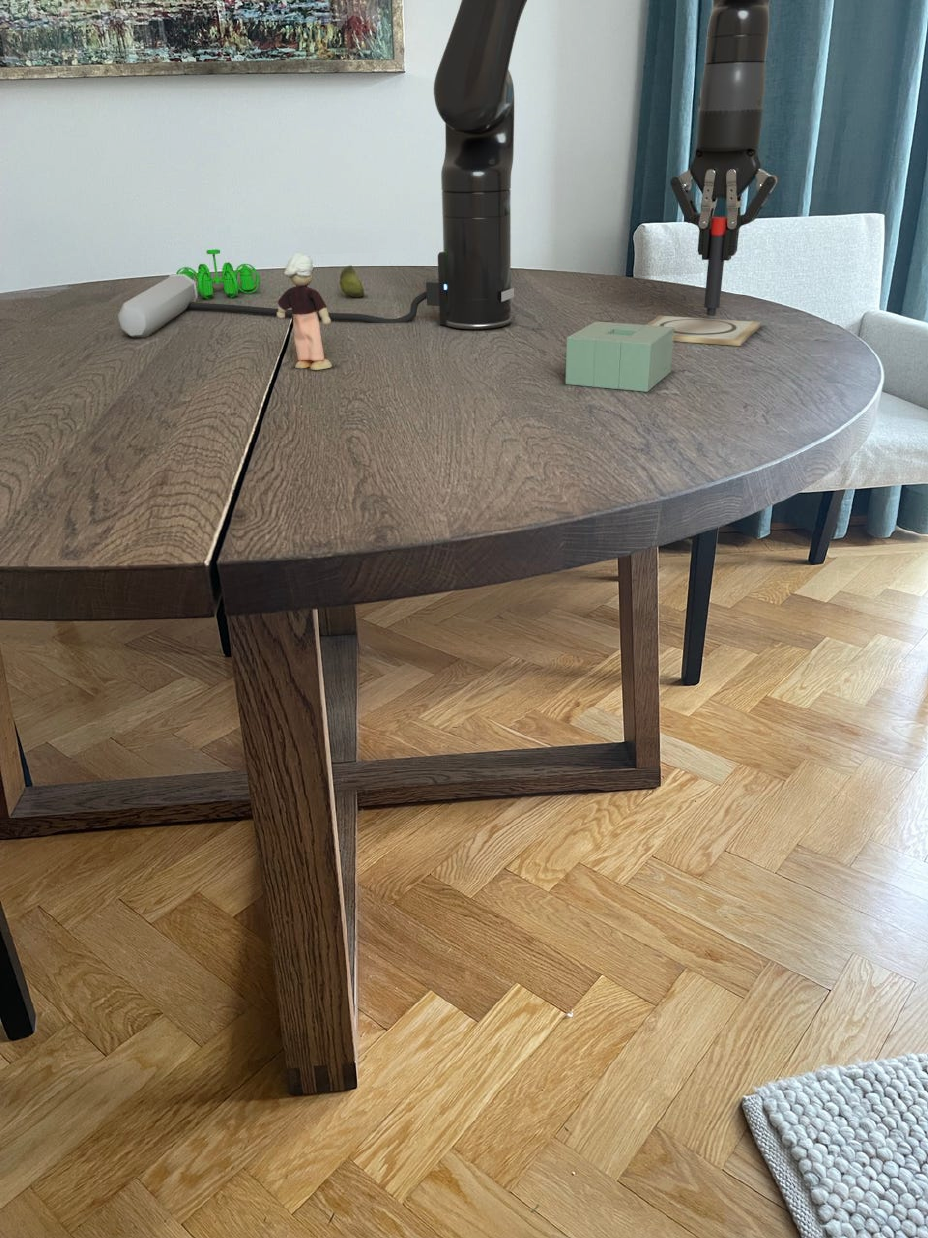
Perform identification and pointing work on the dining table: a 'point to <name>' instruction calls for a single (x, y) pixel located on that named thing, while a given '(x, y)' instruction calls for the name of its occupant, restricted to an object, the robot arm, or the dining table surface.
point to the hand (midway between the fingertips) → (716, 258)
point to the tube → (157, 306)
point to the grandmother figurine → (305, 313)
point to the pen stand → (619, 356)
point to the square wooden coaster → (708, 330)
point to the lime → (351, 283)
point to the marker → (715, 265)
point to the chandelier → (223, 277)
